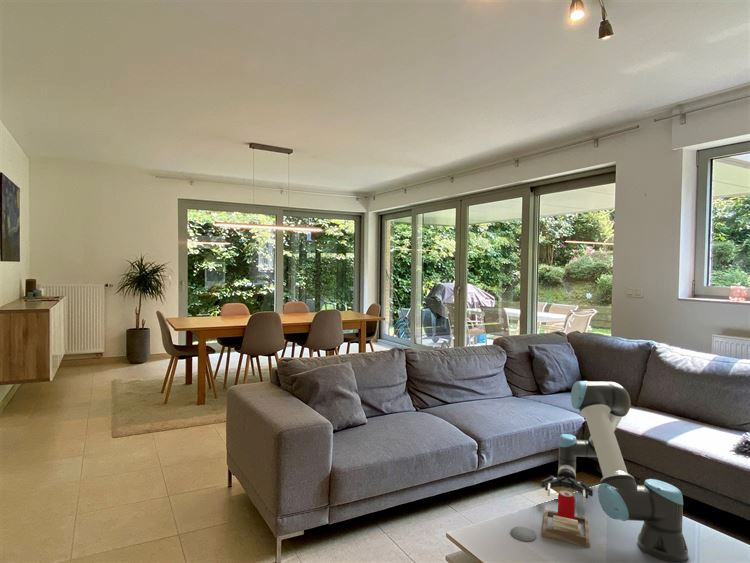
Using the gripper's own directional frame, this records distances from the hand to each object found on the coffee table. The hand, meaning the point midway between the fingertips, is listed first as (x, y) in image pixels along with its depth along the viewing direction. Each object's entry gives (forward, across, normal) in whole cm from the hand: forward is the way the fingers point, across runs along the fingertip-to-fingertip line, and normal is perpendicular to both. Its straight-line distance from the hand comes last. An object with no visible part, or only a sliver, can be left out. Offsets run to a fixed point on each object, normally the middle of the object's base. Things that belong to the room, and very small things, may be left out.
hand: (566, 496), depth 187 cm
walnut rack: (+14, 0, -7) cm, 15 cm away
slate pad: (+25, +14, -7) cm, 30 cm away
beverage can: (+9, 0, -7) cm, 12 cm away
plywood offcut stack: (+19, 0, -7) cm, 20 cm away
